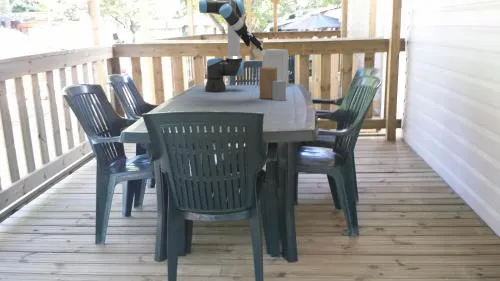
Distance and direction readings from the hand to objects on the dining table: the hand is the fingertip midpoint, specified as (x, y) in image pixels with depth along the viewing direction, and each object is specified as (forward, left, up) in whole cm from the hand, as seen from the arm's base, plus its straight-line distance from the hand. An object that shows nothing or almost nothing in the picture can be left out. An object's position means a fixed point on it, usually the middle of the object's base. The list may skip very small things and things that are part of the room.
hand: (261, 53), depth 286 cm
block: (-2, +8, -29) cm, 30 cm away
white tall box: (-46, +45, -29) cm, 71 cm away
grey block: (+8, +9, -29) cm, 31 cm away
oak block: (0, -4, -4) cm, 5 cm away
